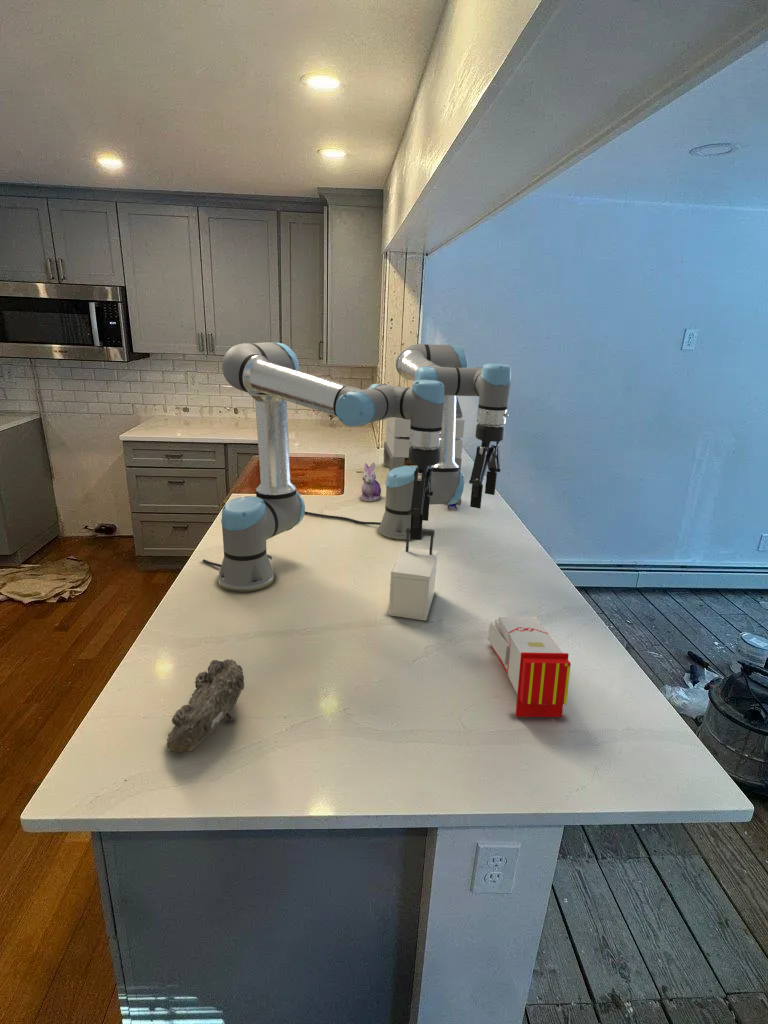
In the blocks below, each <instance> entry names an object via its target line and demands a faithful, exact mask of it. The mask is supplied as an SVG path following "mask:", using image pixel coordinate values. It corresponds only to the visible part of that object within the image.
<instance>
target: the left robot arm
mask: <svg viewBox="0 0 768 1024" xmlns="http://www.w3.org/2000/svg"><path fill="white" fill-rule="evenodd" d="M221 369H222V374H223V376H224V379H225V380H226V382H227V383H228V384H229V385H230V386H231V387H233V388H235V389H237V390H239V391H242V392H245V393H248V394H249V396H251V397H252V398H253V399H254V404H255V417H256V418H255V419H256V433H257V435H256V436H257V449H258V462H259V464H258V465H259V477H260V483H259V484H258V486H257V487H256V488H255V496H252V495H249V496H248V495H247V496H244V497H241V496H240V497H236V498H233V499H231V500H229V501H228V502H226V503H225V504H224V505H223V507H222V511H221V519H220V523H221V528H222V530H221V531H222V543H223V559H222V563H217V562H212V561H209V560H207V559H204V558H203V559H202V562H203V563H205V564H208V565H210V566H215V567H218V568H220V569H219V572H218V585H219V586H220V587H221V588H223V589H224V590H227V591H230V592H236V593H250V592H251V593H252V592H256V591H260V590H262V589H266V588H267V587H269V586H270V585H272V584H273V582H274V579H275V573H274V569H273V567H272V564H271V561H272V559H273V557H272V555H269V554H268V553H267V540H269V539H271V538H273V537H276V536H278V535H280V534H282V533H285V532H288V531H290V530H292V529H293V528H295V527H297V526H298V525H299V524H300V523H301V522H302V520H303V519H304V517H305V514H304V513H305V511H306V505H305V500H304V498H303V497H302V494H301V493H299V491H297V486H296V485H295V484H294V483H293V482H292V480H291V461H290V440H289V422H288V418H289V417H288V403H289V402H290V403H293V404H295V405H299V406H302V407H305V408H308V409H312V410H315V411H317V412H321V413H324V414H327V415H330V416H333V417H336V418H337V419H338V420H339V422H341V423H342V424H343V425H344V426H346V427H351V428H352V427H363V426H365V425H368V424H371V423H374V422H379V421H383V420H386V419H387V418H391V417H393V418H402V419H410V422H411V426H410V438H409V444H410V445H411V446H410V448H409V462H410V463H412V464H416V465H417V466H416V467H418V468H416V471H414V487H413V495H412V504H411V510H410V511H409V510H408V514H411V528H410V539H411V540H417V541H421V540H422V536H423V535H422V528H423V523H424V522H423V521H427V522H428V521H429V514H430V505H429V504H430V496H433V492H431V476H432V469H431V466H433V465H436V464H438V463H439V461H440V448H439V446H440V445H441V438H444V434H440V433H441V432H442V420H443V409H444V403H445V400H444V384H443V383H442V382H440V381H435V380H416V381H413V382H412V385H411V386H410V387H409V386H407V387H406V386H401V385H400V386H401V387H400V386H398V385H393V384H388V383H372V384H371V385H369V387H368V388H365V389H362V388H358V387H355V386H351V385H348V384H345V383H341V382H338V381H334V380H331V379H329V378H325V377H321V376H317V375H313V374H310V373H307V372H303V371H301V370H300V364H299V359H298V357H297V355H296V353H295V352H294V351H293V350H292V349H291V347H290V346H288V345H287V344H285V343H282V342H274V341H273V342H272V341H267V342H253V343H252V342H250V343H248V342H246V343H245V342H243V343H238V344H235V345H233V346H231V348H229V350H227V351H226V352H225V354H224V355H223V359H222V362H221ZM416 509H418V510H416ZM270 560H271V561H270Z"/></svg>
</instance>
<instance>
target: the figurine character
mask: <svg viewBox="0 0 768 1024" xmlns="http://www.w3.org/2000/svg"><path fill="white" fill-rule="evenodd" d="M461 505H462V497H461V498H460V500H459V501H458V502H457V503H455V504H447V505H446V506H447V509H448V510H451V508H453V507H454V510H457V509H458V507H459V506H461ZM450 507H451V508H450Z"/></svg>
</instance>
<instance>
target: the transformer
mask: <svg viewBox="0 0 768 1024" xmlns="http://www.w3.org/2000/svg"><path fill="white" fill-rule="evenodd" d="M397 386H400V387H402V385H399V384H398V385H397ZM385 423H386V428H385V438H384V442H383V466H384V467H388V468H389V471H390V470H392V469H394V468H397V467H402V466H411V467H412V466H416V467H418V466H417V465H416V464H412V463H410V462H409V448H410V446H411V445H410V444H409V438H410V426H411V422H410V419H402V418H393V417H391V418H387V419H385ZM464 429H465V419H464V418H463V411H462V408H461V405H460V402H459V398H458V396H456V427H455V463H456V464H457V465H458V466H459V471H461V472H462V461H463V460H462V453H463V442H464V441H463V440H462V439H463V438H464V431H465V430H464Z"/></svg>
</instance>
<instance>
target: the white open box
mask: <svg viewBox="0 0 768 1024" xmlns="http://www.w3.org/2000/svg"><path fill="white" fill-rule="evenodd" d="M437 564H438V558H437V559H436V562H435V565H434V568H433V571H432V574H431V577H430V580H429V581H424V580H416V579H409V578H401V577H394V576H391V575H390V584H389V586H390V587H389V604H388V616H391V617H398V618H406V619H411V620H418V621H423V622H424V621H427V619H428V616H429V612H430V609H431V605H432V602H433V598H434V595H435V587H436V574H437Z"/></svg>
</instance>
